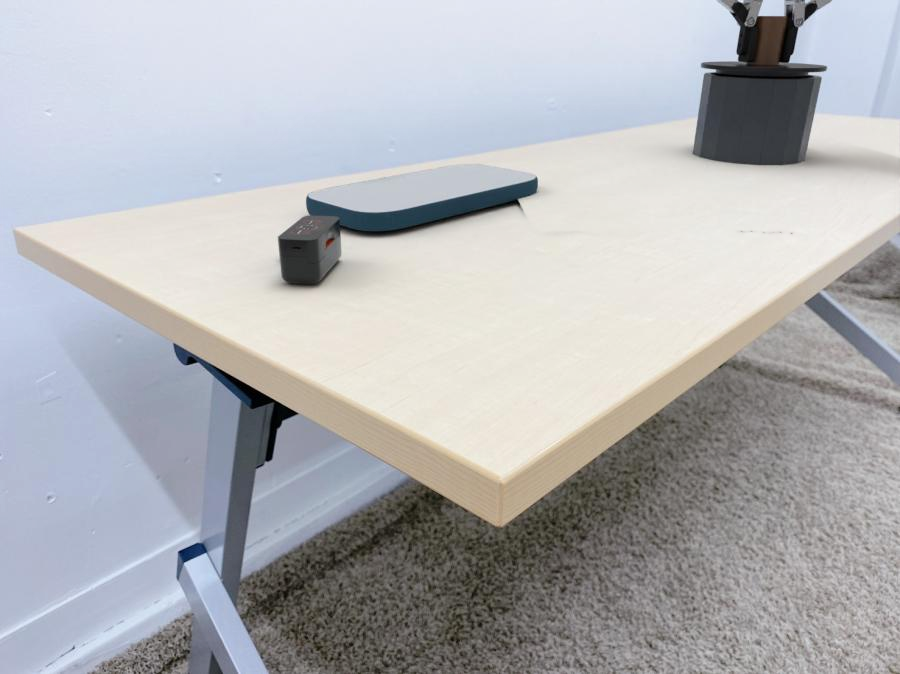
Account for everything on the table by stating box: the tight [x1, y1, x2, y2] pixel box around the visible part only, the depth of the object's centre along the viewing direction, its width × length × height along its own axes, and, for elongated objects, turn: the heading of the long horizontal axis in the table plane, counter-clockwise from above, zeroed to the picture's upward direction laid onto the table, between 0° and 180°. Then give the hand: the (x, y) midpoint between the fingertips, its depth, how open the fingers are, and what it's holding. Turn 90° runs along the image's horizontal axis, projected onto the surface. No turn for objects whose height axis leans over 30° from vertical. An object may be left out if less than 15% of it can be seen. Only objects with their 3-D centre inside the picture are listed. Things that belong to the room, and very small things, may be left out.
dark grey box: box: [277, 215, 343, 285], centre depth 50 cm, size 5×7×3 cm, turn 173°
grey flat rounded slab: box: [305, 163, 539, 232], centre depth 69 cm, size 24×12×2 cm, turn 136°
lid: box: [700, 15, 828, 77], centre depth 87 cm, size 15×15×7 cm
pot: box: [692, 71, 823, 166], centre depth 91 cm, size 14×14×10 cm
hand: (763, 60), depth 88 cm, fingers closed on lid, 3 cm apart
